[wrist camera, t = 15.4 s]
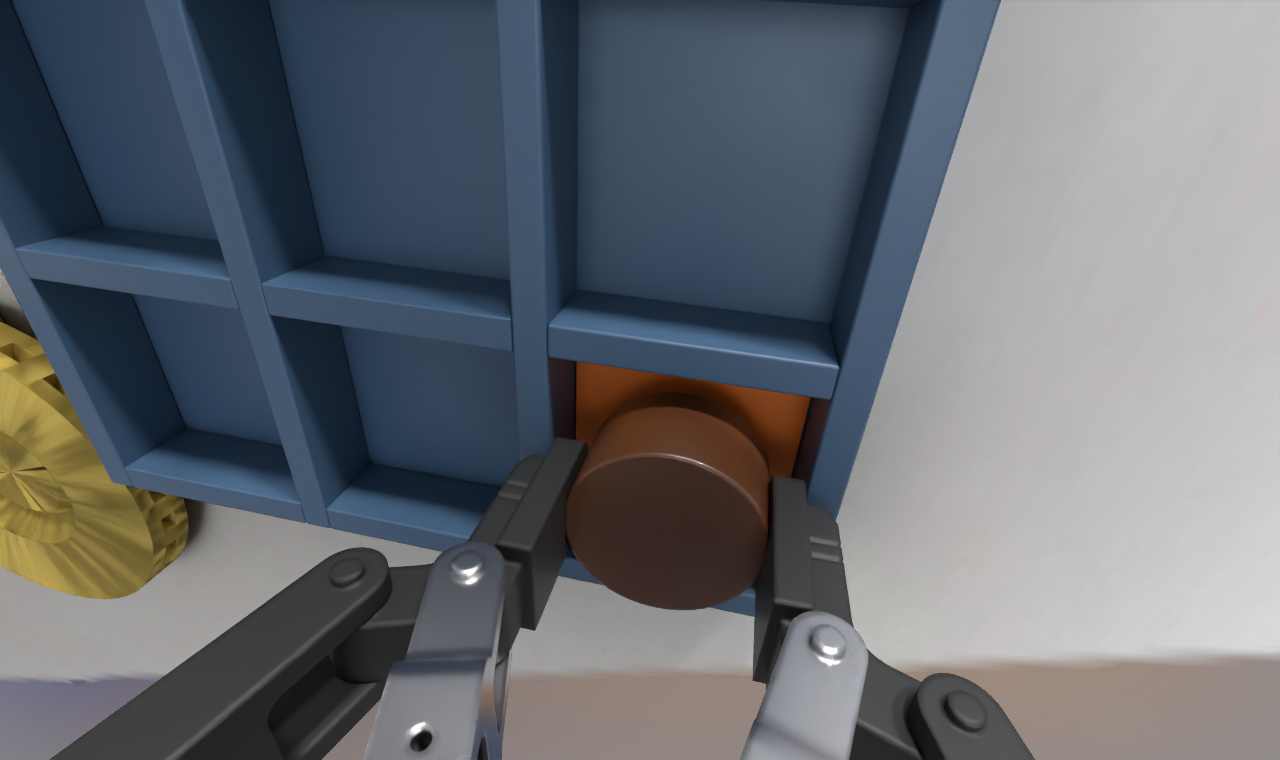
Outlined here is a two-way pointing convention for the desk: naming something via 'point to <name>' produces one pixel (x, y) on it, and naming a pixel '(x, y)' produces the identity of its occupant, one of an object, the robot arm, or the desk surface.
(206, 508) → the desk surface
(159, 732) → the robot arm
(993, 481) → the desk surface
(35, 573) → the gold notched disc
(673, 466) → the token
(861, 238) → the grid
